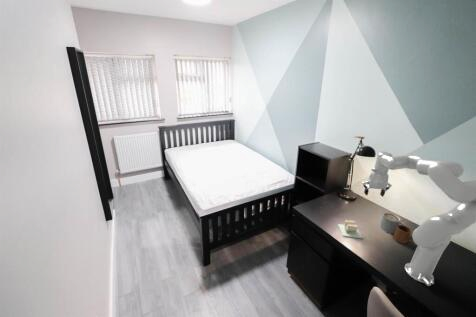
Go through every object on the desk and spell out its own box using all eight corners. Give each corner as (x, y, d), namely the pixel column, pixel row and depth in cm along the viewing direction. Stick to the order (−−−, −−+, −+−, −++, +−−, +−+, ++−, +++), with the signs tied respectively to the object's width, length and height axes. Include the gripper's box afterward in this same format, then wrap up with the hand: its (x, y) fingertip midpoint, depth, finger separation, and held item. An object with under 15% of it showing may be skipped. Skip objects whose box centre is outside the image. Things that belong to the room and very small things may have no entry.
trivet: (361, 238, 145) (361, 237, 144) (342, 236, 146) (342, 235, 146) (355, 226, 156) (355, 225, 155) (337, 224, 157) (337, 223, 157)
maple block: (355, 233, 147) (357, 226, 145) (346, 232, 148) (348, 225, 146) (352, 228, 153) (354, 221, 151) (343, 227, 154) (345, 220, 151)
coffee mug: (377, 228, 155) (381, 216, 151) (382, 222, 161) (385, 210, 158) (400, 238, 146) (404, 225, 142) (403, 231, 152) (408, 219, 149)
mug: (416, 247, 138) (421, 235, 135) (408, 250, 136) (413, 238, 132) (398, 234, 149) (402, 223, 145) (390, 237, 146) (394, 225, 143)
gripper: (368, 172, 134) (361, 196, 140) (398, 175, 132) (390, 199, 138) (363, 167, 141) (357, 190, 147) (392, 169, 139) (384, 193, 145)
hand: (373, 194), depth 143 cm, fingers open, 9 cm apart
